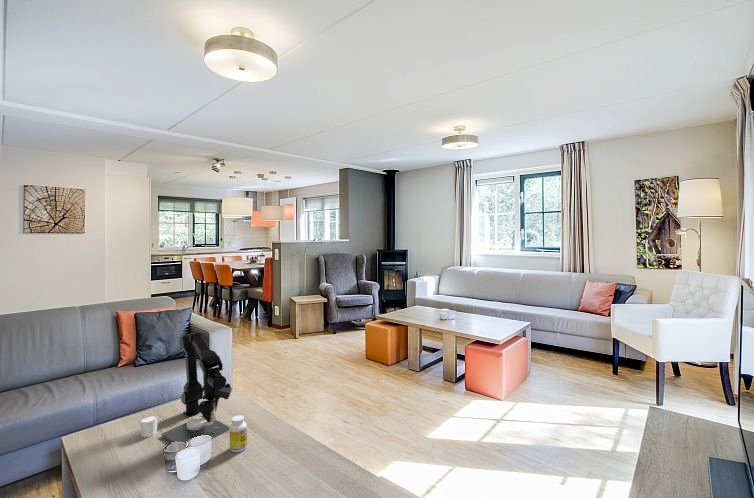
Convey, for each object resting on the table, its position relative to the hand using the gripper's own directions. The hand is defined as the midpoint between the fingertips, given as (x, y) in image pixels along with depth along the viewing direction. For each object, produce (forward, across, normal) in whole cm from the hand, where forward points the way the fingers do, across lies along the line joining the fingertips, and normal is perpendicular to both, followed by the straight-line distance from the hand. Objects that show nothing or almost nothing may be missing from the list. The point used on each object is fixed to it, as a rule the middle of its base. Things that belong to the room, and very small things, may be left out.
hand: (212, 416), depth 163 cm
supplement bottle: (+7, -15, -14) cm, 22 cm away
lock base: (+7, 0, +7) cm, 10 cm away
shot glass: (+7, +4, +28) cm, 29 cm away
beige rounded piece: (+3, 0, +5) cm, 6 cm away
